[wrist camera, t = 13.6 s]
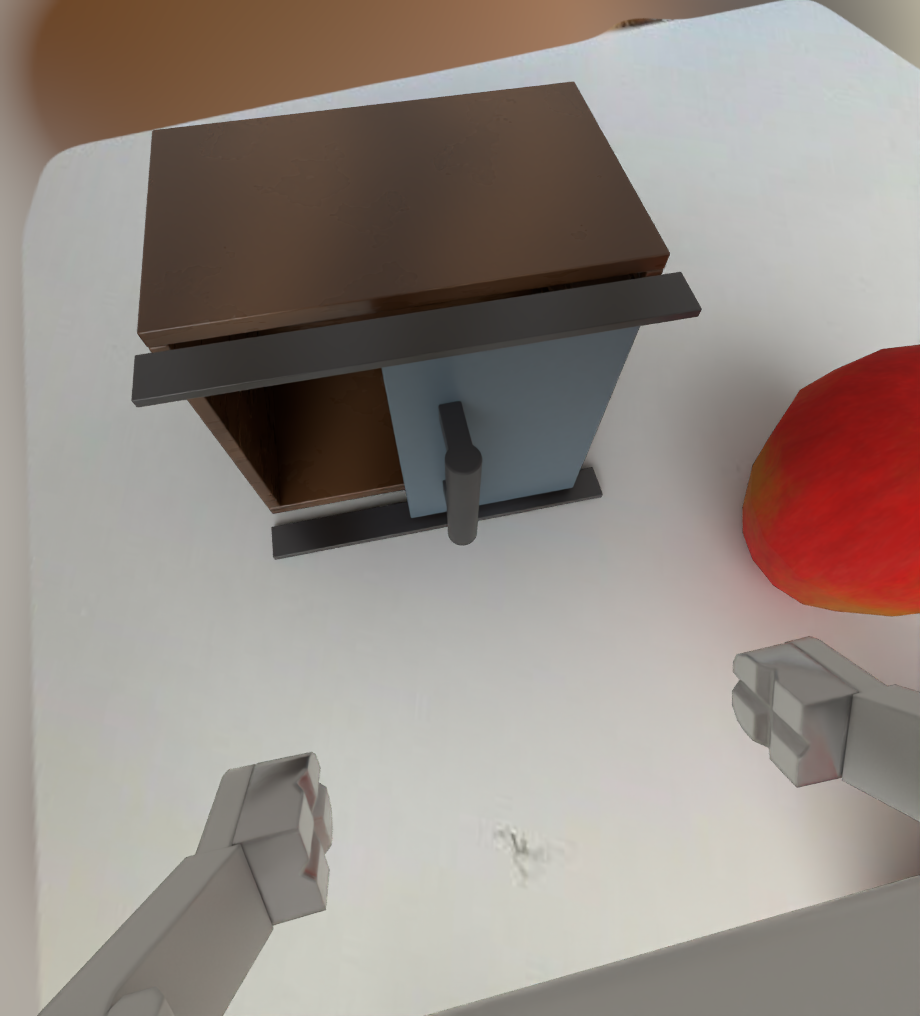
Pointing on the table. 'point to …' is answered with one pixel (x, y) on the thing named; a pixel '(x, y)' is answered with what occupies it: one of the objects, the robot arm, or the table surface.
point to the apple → (844, 490)
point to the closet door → (500, 422)
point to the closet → (379, 279)
